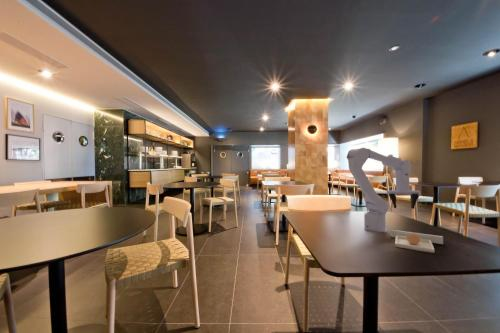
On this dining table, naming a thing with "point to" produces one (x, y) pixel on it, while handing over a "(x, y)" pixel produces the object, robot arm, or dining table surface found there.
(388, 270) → the dining table surface
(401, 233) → the low wall
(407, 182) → the robot arm
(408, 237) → the ball
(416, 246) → the tray
